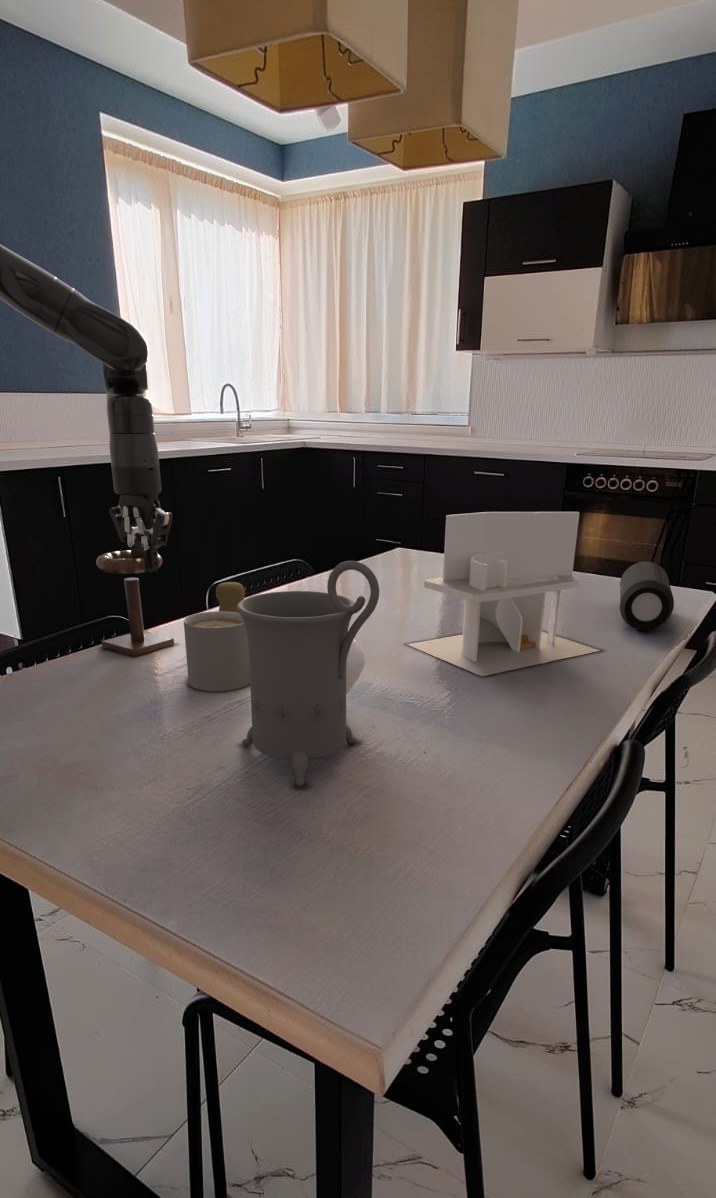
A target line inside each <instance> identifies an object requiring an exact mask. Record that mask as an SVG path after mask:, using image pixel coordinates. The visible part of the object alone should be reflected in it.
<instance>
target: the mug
mask: <svg viewBox="0 0 716 1198" xmlns="http://www.w3.org/2000/svg"><path fill="white" fill-rule="evenodd" d="M347 571H357V572H359V573H360V574H361V575H363V576H364V577H365V579H366V580H367V582H368V584H369V585H368V586H369V588H370V589H369V590H370V595H369V599H368V602H367V604H366V606H365V603H366V598H365V597H364V596H363V595H359V596H358V597H357V598H356V601H354V600H352V599H350V598H349V597H346V596H343V595H340V594H338V593H337V583H338V579H339V577H340V576H341V575H342V574H343V573H344V572H347ZM326 587H327V592H324V591H323V592H322V591H313V590H312V591H310V590H284V591H273V592H272V591H271V592H265V593H260V594H256V595H252V596H248V597H246V598H244V599H243V600H242V601H240V602H239V604H238V605H237V610H238V612H239V613H240V615H241V617H242V618H243V621H244V624H245V627H246V632H247V638H248V648H249V667H250V684H249V685H250V686H249V688H250V704H251V705H250V706H251V707H250V708H251V709H250V710H251V726H250V728H249V729H248V731H247V733H246V738H243V739H242V741H241V742H242V745H243V746H247V747H248V746H251V745H253V747H254V748H255V749H256V750H257V751H258V752H260V753H261V754H263V755H266V756H268V757H271V758H275V759H281V760H289V761H291V765H292V769H293V773H294V776H295V781H296V785H297V786H298V787H302V786H304V783H305V776H306V771H307V768H308V763H309V760H315V759H321V758H325V757H327V756H330V755H333V754H335V753H337V752H339V751H340V750H342V749H343V748H344V746H345V745H346V743H347V744H356V743H357V738H356V736H353V733H352V730H351V728H350V726H349V725H348V724H347V694H346V661H347V656H348V653H349V649H350V647H351V644H352V642H353V640H354V639H356V638H355V637H356V636H357V634H358V632H359V631H360V629H361V628H362V626H363V625H364V624H365V622H366V621H367V620H368V619H369V618H370V617H371V616H372V614H373V613H374V611H375V609H376V607H377V605H378V602H379V599H380V585H379V582H378V579H377V576H376V575H375V573H374V571H373V570H372V569H371V568H370V567H368V566H367V565H366V564H365V563H362V562H360V561H357V560H344V561H343V562H340V563H339V564H337V565H336V566H335V567H334V568H333V569H332V571H330V574H329V576H328V579H327V586H326ZM364 606H365V607H364ZM363 607H364V609H363ZM361 610H362V611H361ZM360 611H361V613H359V612H360ZM357 613H359V615H358V616H357V618H356V619H355V620H354V621H353V623H352V624H351V626H350V622H351V620H352V617H353V615H354V614H357ZM349 627H350V628H349Z"/></svg>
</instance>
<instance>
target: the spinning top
mask: <svg viewBox="0 0 716 1198" xmlns="http://www.w3.org/2000/svg"><path fill="white" fill-rule="evenodd" d="M365 663H366V654H365V651H364V649H363V647H362V646H361V644H360V643H359V642H358V641H357V639H356V638H354V640H353V642H352V644H351V647H350V649H349V653H348V656H347V661H346V695H347V694H349V692H350V691H351V689H352V688H353V686H354V685H355V684H356V683H357V682H358V680H359V678H360V676H361V674H362V672H363V670H364V668H365Z"/></svg>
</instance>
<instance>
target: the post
mask: <svg viewBox="0 0 716 1198" xmlns="http://www.w3.org/2000/svg"><path fill="white" fill-rule="evenodd" d="M123 580H124V589H125V599H126V606H127V607H126V609H127V616H128V617H127V618H128V625H129V633H126V634H123V635H119V636H116V637H113V638H107V639H104V640H101V647H102V648H103V649H106V650H110V651H114V652H118V653H121V654H124V655H128V656H132V657H138V656H141V655H145V654H148V653H152V652H155V651H158V650H162V649H164V648H168V647H172V646H175V638H173V637H170V636H169V637H168V636H165V635H161V634H157V633H153V632H149V631H145V629H144V628H145V627H144V619H143V609H142V608H143V607H142V601H141V599H142V598H141V592H140V591H141V589H140V580H139V578H138V577H126V578H124V579H123ZM144 631H145V632H144Z"/></svg>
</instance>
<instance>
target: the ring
mask: <svg viewBox="0 0 716 1198" xmlns="http://www.w3.org/2000/svg"><path fill="white" fill-rule="evenodd" d="M131 557H132V556H131V549H130V550H129V549H128V550H116V551H110V552H105V553H103V554H101V555H99V556H98V557H97V558H96V561H95V563H96V566H97V567H98V568H99V570H100V571H102V572H104V573H110V574H121V575H122V574H123V575H124V574H126V575H127V574H140V573H148V572H147V571H146V569H145V559H144V557H143V558H134V559H131ZM158 560H159V561H158V562H159V567H158V568H160V567H162V565H163V557H162V556H161V555H160V554H158Z"/></svg>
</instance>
